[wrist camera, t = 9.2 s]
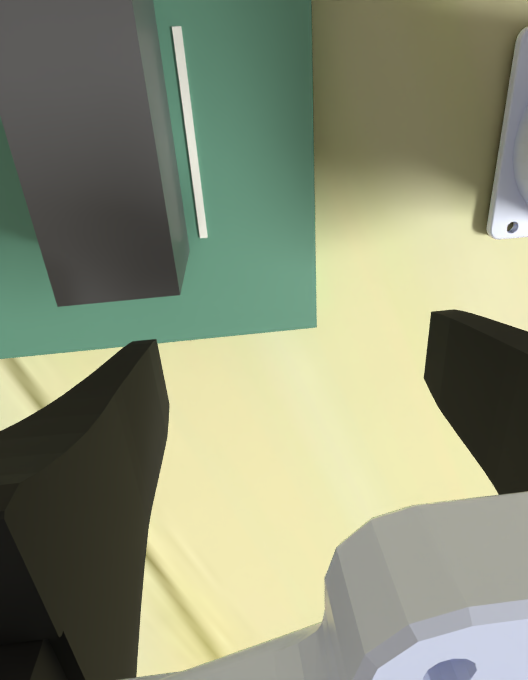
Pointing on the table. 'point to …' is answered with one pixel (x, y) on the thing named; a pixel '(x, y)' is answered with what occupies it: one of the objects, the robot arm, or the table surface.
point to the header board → (201, 191)
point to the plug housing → (94, 146)
